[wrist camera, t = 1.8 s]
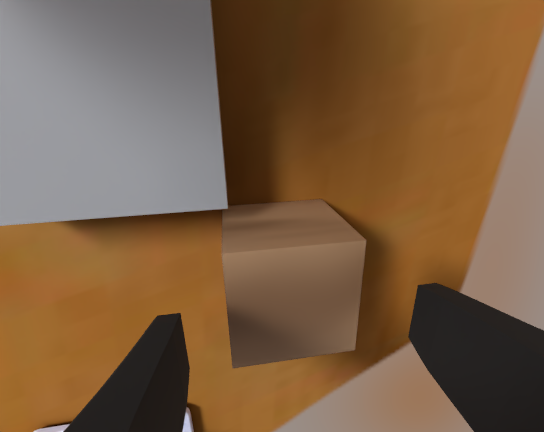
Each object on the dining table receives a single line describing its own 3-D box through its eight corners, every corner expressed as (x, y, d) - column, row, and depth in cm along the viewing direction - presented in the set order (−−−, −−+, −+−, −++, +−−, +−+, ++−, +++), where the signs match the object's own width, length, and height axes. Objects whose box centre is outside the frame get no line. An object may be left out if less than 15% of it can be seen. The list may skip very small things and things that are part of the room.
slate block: (226, 186, 13) (227, 208, 10) (26, 199, 12) (-37, 228, 9) (207, -42, 10) (201, -101, 7) (-62, -53, 9) (-196, -129, 6)
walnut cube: (317, 282, 15) (354, 349, 11) (230, 291, 14) (232, 368, 10) (321, 198, 13) (366, 240, 9) (222, 205, 13) (221, 253, 8)
